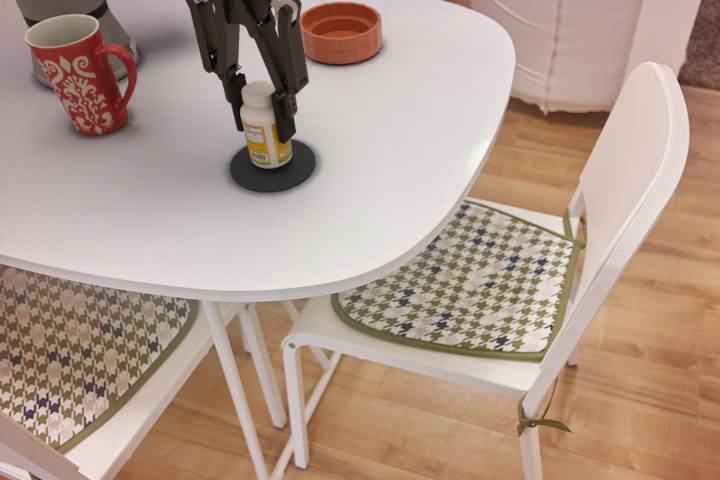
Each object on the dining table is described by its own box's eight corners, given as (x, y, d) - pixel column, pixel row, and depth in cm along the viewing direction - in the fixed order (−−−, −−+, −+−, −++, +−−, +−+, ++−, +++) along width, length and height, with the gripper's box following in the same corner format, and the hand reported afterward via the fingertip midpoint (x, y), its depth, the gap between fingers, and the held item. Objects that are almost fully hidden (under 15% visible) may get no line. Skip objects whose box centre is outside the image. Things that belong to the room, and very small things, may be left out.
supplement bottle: (288, 141, 81) (277, 73, 74) (296, 164, 77) (285, 96, 70) (247, 148, 80) (232, 81, 73) (253, 173, 76) (238, 105, 69)
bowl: (287, 42, 102) (283, 15, 99) (354, 20, 107) (353, -6, 104) (327, 75, 95) (324, 47, 91) (397, 50, 100) (397, 23, 97)
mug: (53, 135, 84) (7, 42, 74) (90, 100, 90) (51, 10, 80) (136, 147, 82) (100, 53, 72) (168, 110, 88) (138, 19, 78)
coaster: (216, 159, 80) (215, 156, 80) (290, 130, 85) (290, 128, 84) (253, 204, 74) (253, 201, 74) (331, 170, 78) (331, 168, 78)
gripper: (329, -72, 58) (346, 133, 75) (174, -97, 64) (223, 100, 81) (287, -45, 54) (316, 167, 71) (124, -74, 59) (187, 130, 76)
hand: (266, 131), depth 76 cm, fingers closed on supplement bottle, 5 cm apart
